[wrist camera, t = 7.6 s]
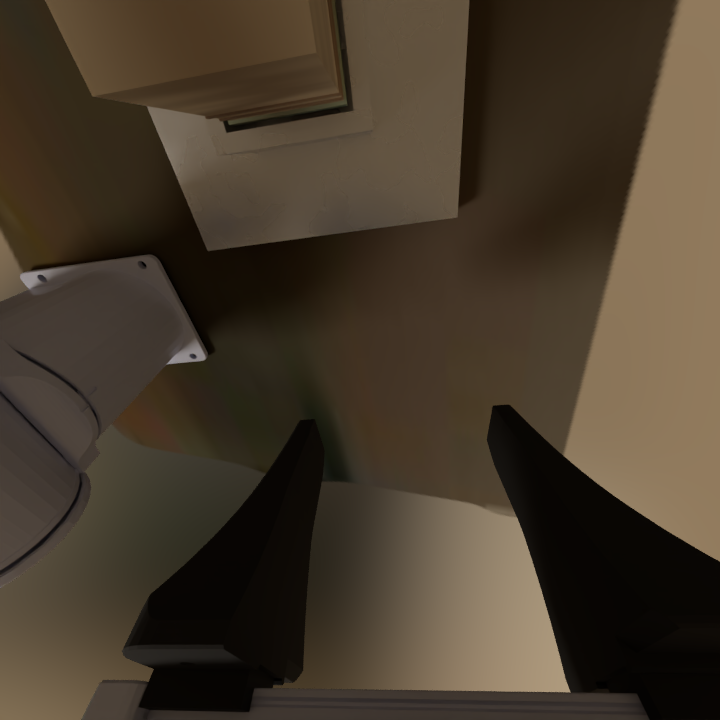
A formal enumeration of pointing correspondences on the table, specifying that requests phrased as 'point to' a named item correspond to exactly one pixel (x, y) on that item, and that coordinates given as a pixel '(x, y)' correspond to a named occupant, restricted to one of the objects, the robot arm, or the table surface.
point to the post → (209, 55)
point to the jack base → (339, 138)
